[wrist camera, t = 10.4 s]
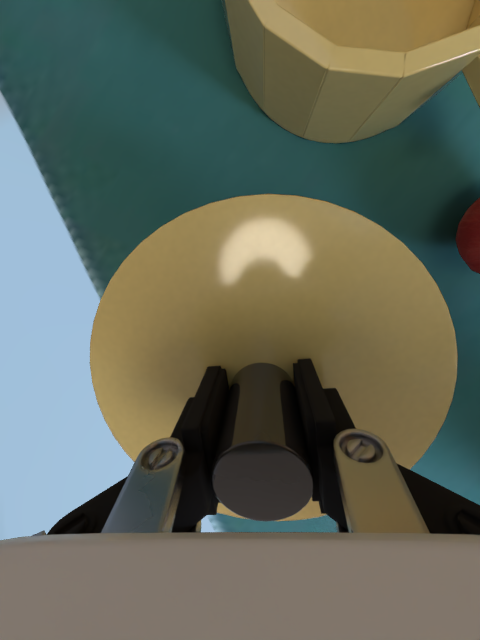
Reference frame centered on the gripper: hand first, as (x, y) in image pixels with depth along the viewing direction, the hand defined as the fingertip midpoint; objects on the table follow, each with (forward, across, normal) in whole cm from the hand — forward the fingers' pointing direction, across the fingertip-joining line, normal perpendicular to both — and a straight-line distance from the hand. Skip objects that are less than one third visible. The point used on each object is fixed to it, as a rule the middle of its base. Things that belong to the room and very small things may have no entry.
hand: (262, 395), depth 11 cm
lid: (+1, 0, 0) cm, 1 cm away
